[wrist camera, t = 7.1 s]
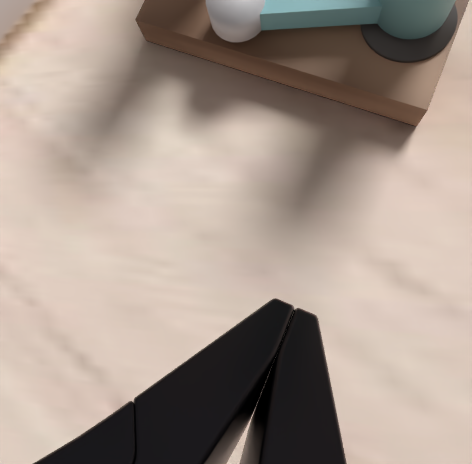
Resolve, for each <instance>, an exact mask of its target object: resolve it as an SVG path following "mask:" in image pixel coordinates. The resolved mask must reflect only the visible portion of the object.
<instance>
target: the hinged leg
mask: <svg viewBox="0 0 472 464" xmlns="http://www.w3.org/2000/svg"><path fill="white" fill-rule="evenodd" d="M455 1H456V0H206V6H207V10H208V14H209V17H210V21H211V24H212V28H213V30H214V31H215V33H216V34H217V35H218V36H219V37H220V38H222V39H224V40H226V41H229V42H244V41H247V40H250V39H252V38H253V37H255V36H256V35H257V34H259V33H260V31H261V30H276V29H293V28H310V27H326V26H343V25H360V24H378V25H379V26H380V28H381V29H383V30H384V31H385V32H386V33H388V34H390V35H392V36H394V37H397V38H401V39H419V38H423V37H426V36H428V35H430V34H432V33H434V32H435V31H437V30H438V29H439V28H440V27H441V26H442V25H443V23H444V22H445V20H446V19H447V17H448V15H449V13H450V11H451V9H452V7H453V5H454V3H455Z"/></svg>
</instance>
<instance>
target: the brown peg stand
mask: <svg viewBox="0 0 472 464" xmlns="http://www.w3.org/2000/svg"><path fill="white" fill-rule="evenodd" d="M468 1H469V0H456V1H455V3H454V5H453V7H452V9H451V11H450V13H449V15H448V17H447V19H446V20H445V22H444V23H443V25H442V26H441V27H440V28H439V29H438V30H437V31H435V32H434V33H432V34H430V35H428V36H426V37H423V38H419V39H401V38H397V37H394V36H392V35H390V34H388V33H386V32H385V31H384V30H383V29H381V28H380V26H379V25H378V24H360V25H343V26H326V27H310V28H293V29H276V30H261V31H260V33H259V34H257V35H256V36H255V37H253V38H252V39H250V40H247V41H244V42H229V41H226V40H224V39H222V38H220V37H219V36H218V35H217V34H216V33H215V31H214V30H213V28H212V24H211V21H210V17H209V14H208V10H207V6H206V0H145V1H144V3H143V5H142V7H141V9H140V11H139V13H138V15H137V18H136V22H137V24H138V26H139V28H140V30H141V31H142V33H143V35H144V37H145V39H146V40H147V41H150V42H153V43H156V44H159V45H162V46H165V47H169V48H172V49H175V50H178V51H181V52H184V53H187V54H191V55H194V56H197V57H200V58H203V59H206V60H209V61H213V62H216V63H219V64H222V65H225V66H228V67H232V68H235V69H238V70H241V71H244V72H247V73H250V74H254V75H257V76H260V77H263V78H266V79H269V80H272V81H276V82H279V83H282V84H285V85H288V86H291V87H294V88H298V89H301V90H304V91H307V92H310V93H313V94H316V95H320V96H323V97H326V98H329V99H332V100H335V101H339V102H342V103H345V104H348V105H351V106H354V107H357V108H361V109H364V110H367V111H370V112H373V113H376V114H379V115H383V116H386V117H389V118H392V119H395V120H398V121H401V122H405V123H408V124H411V125H414V126H417V125H418V124H419V122H420V121H421V119H422V118H423V116H424V115H425V113H426V112H427V110H428V107H429V105H430V102H431V99H432V97H433V94H434V91H435V89H436V86H437V83H438V81H439V78H440V76H441V73H442V70H443V68H444V65H445V62H446V60H447V57H448V54H449V52H450V49H451V46H452V44H453V41H454V38H455V36H456V33H457V30H458V28H459V25H460V23H461V20H462V17H463V15H464V12H465V9H466V7H467V4H468Z"/></svg>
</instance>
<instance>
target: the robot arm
mask: <svg viewBox="0 0 472 464" xmlns="http://www.w3.org/2000/svg"><path fill="white" fill-rule="evenodd" d="M292 314H293V315H292ZM290 319H291V320H290ZM288 324H289V325H288ZM277 352H278V353H277ZM275 357H276V358H275ZM273 362H274V363H273ZM271 367H272V368H271ZM269 372H270V373H269ZM267 377H268V378H267ZM265 382H266V383H265ZM263 387H264V388H263ZM261 392H262V393H261ZM259 397H260V398H259ZM258 400H259V401H258ZM257 402H258V403H257ZM256 405H257V406H256ZM255 407H256V408H255ZM254 410H255V411H254ZM253 412H254V414H253ZM252 414H253V417H252V419H251V416H252ZM250 419H251V423H250V426H249V430H248V433H247V437H246V441H245V445H244V449H243V453H242V457H241V460H240V464H346V458H345V453H344V448H343V443H342V438H341V433H340V428H339V423H338V418H337V413H336V408H335V403H334V398H333V393H332V387H331V382H330V377H329V372H328V367H327V362H326V357H325V352H324V347H323V342H322V337H321V332H320V327H319V322H318V318H317V316H316V315H314V314H312V313H310V312H307V311H305V310H303V309H300V308H296V309H295V310H294V307H293V305H291V304H288V303H286V302H284V301H281V300H279V299H272V300H270V301H269V302H268V303H266V304H265V305H263V306H262V307H261V308H259V309H258V310H257V311H255V312H254V313H252V314H251V315H250V316H248V317H247V318H245V319H244V320H243V321H241V322H240V323H238V324H237V325H236V326H234V327H233V328H231V329H230V330H229V331H227V332H226V333H224V334H223V335H222V336H220V337H219V338H218V339H216V340H215V341H213V342H212V343H211V344H209V345H208V346H206V347H205V348H204V349H202V350H201V351H199V352H198V353H197V354H195V355H194V356H192V357H191V358H190V359H188V360H187V361H185V362H184V363H183V364H181V365H180V366H178V367H177V368H176V369H174V370H173V371H172V372H170V373H169V374H167V375H166V376H165V377H163V378H162V379H160V380H159V381H158V382H156V383H155V384H153V385H152V386H151V387H149V388H148V389H146V390H145V391H144V392H142V393H141V394H139V395H138V396H137V397H135V398H134V403H133V402H132V401H129V402H128V403H127V404H125V405H124V406H122V407H121V408H120V409H118V410H117V411H115V412H114V413H113V414H111V415H110V416H108V417H107V418H105V419H104V420H102V421H101V422H99V423H98V424H96V425H95V426H94V427H92V428H91V429H89V430H88V431H86V432H85V433H83V434H82V435H80V436H79V437H77V438H75V439H74V440H72V441H70V442H69V443H67V444H65V445H64V446H62V447H60V448H59V449H57V450H55V451H54V452H52V453H50V454H49V455H47V456H45V457H44V458H42V459H40V460H38V461H37V462H35V463H33V464H226V463H227V461H228V460H229V458H230V456H231V454H232V452H233V450H234V449H235V447H236V445H237V443H238V441H239V440H240V438H241V436H242V434H243V432H244V430H245V428H246V427H247V425H248V423H249V421H250Z"/></svg>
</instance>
